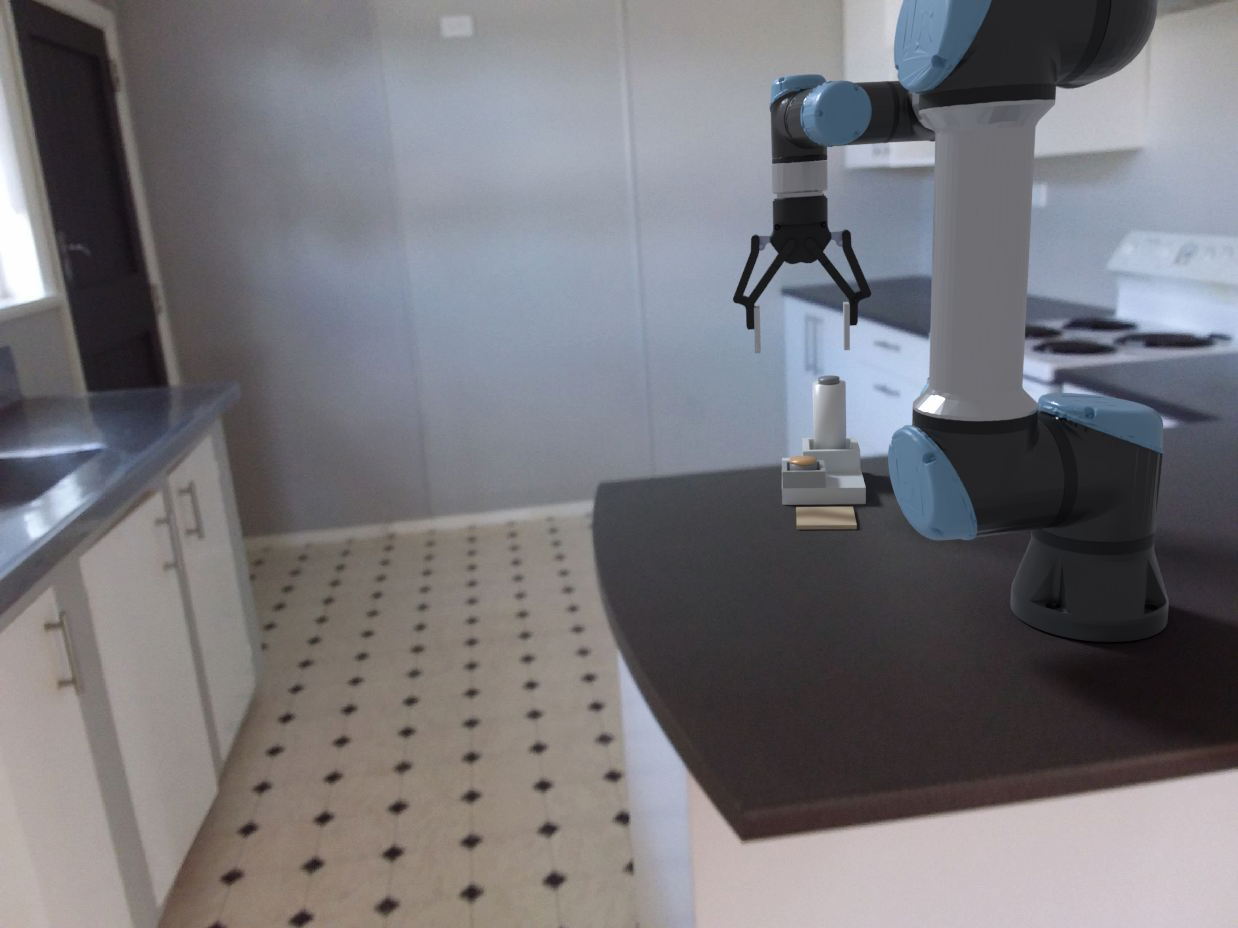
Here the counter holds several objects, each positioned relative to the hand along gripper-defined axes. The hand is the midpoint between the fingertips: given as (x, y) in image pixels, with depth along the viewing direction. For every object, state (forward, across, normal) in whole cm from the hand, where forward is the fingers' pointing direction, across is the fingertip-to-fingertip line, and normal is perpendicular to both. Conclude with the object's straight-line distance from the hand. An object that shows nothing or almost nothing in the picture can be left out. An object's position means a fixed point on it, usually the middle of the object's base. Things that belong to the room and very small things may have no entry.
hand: (801, 350), depth 145 cm
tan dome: (+19, 0, 0) cm, 19 cm away
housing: (+22, -3, -5) cm, 23 cm away
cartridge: (+20, -4, -9) cm, 22 cm away
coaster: (+22, -3, +10) cm, 25 cm away
